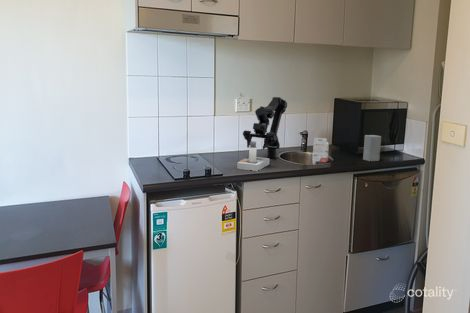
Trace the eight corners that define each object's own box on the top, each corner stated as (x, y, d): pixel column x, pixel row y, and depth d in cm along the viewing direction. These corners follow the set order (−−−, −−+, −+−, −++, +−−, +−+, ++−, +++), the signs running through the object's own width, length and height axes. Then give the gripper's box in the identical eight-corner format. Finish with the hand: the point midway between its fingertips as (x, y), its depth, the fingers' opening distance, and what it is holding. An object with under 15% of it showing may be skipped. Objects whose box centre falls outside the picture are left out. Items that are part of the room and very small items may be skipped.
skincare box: (369, 161, 264) (371, 136, 261) (361, 159, 271) (363, 134, 267) (380, 161, 268) (382, 136, 264) (372, 158, 274) (374, 134, 271)
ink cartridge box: (327, 161, 263) (329, 137, 260) (325, 162, 259) (327, 138, 256) (314, 159, 267) (316, 136, 264) (312, 160, 263) (313, 137, 260)
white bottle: (247, 167, 241) (248, 141, 238) (254, 167, 242) (255, 141, 239) (249, 169, 237) (250, 142, 234) (256, 169, 238) (257, 142, 235)
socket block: (250, 161, 255) (250, 155, 255) (269, 164, 251) (269, 157, 250) (236, 168, 238) (237, 161, 237) (257, 171, 233) (257, 164, 232)
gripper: (244, 116, 245) (236, 138, 238) (275, 118, 238) (268, 141, 231) (249, 128, 254) (241, 149, 247) (279, 130, 247) (272, 153, 239)
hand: (255, 148), depth 241 cm, fingers open, 9 cm apart
